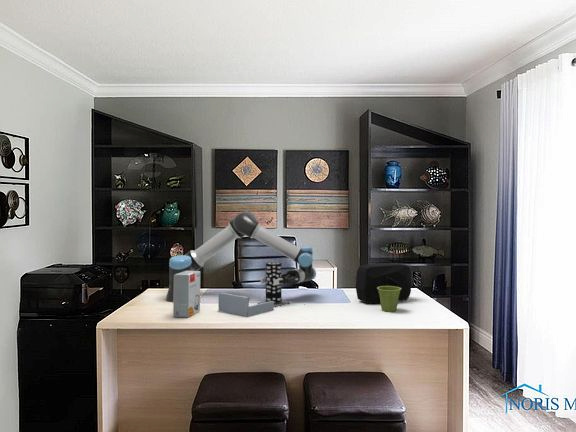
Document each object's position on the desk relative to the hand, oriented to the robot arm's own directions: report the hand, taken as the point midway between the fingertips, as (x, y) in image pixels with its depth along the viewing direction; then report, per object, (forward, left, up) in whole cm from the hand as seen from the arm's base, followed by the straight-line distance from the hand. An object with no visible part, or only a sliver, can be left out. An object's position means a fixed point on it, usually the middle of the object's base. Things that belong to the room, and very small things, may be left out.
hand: (267, 281), depth 263 cm
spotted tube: (0, +5, -11) cm, 12 cm away
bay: (0, -16, -12) cm, 20 cm away
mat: (0, +5, -12) cm, 13 cm away
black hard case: (+41, +49, -13) cm, 65 cm away
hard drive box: (-17, -39, -13) cm, 44 cm away
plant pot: (+53, +31, -13) cm, 63 cm away
